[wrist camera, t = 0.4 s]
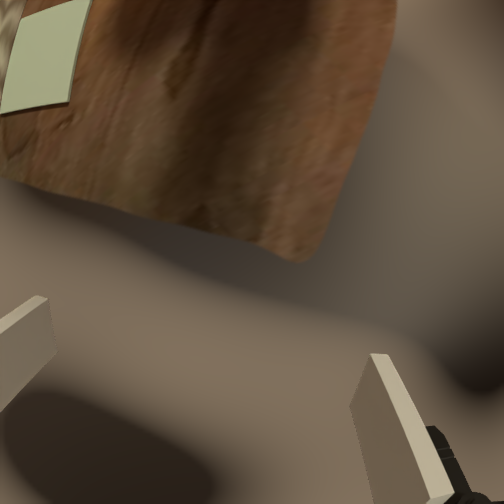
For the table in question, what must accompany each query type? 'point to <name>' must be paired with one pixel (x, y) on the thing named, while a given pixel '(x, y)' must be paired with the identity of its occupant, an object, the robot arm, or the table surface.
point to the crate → (8, 32)
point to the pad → (44, 57)
